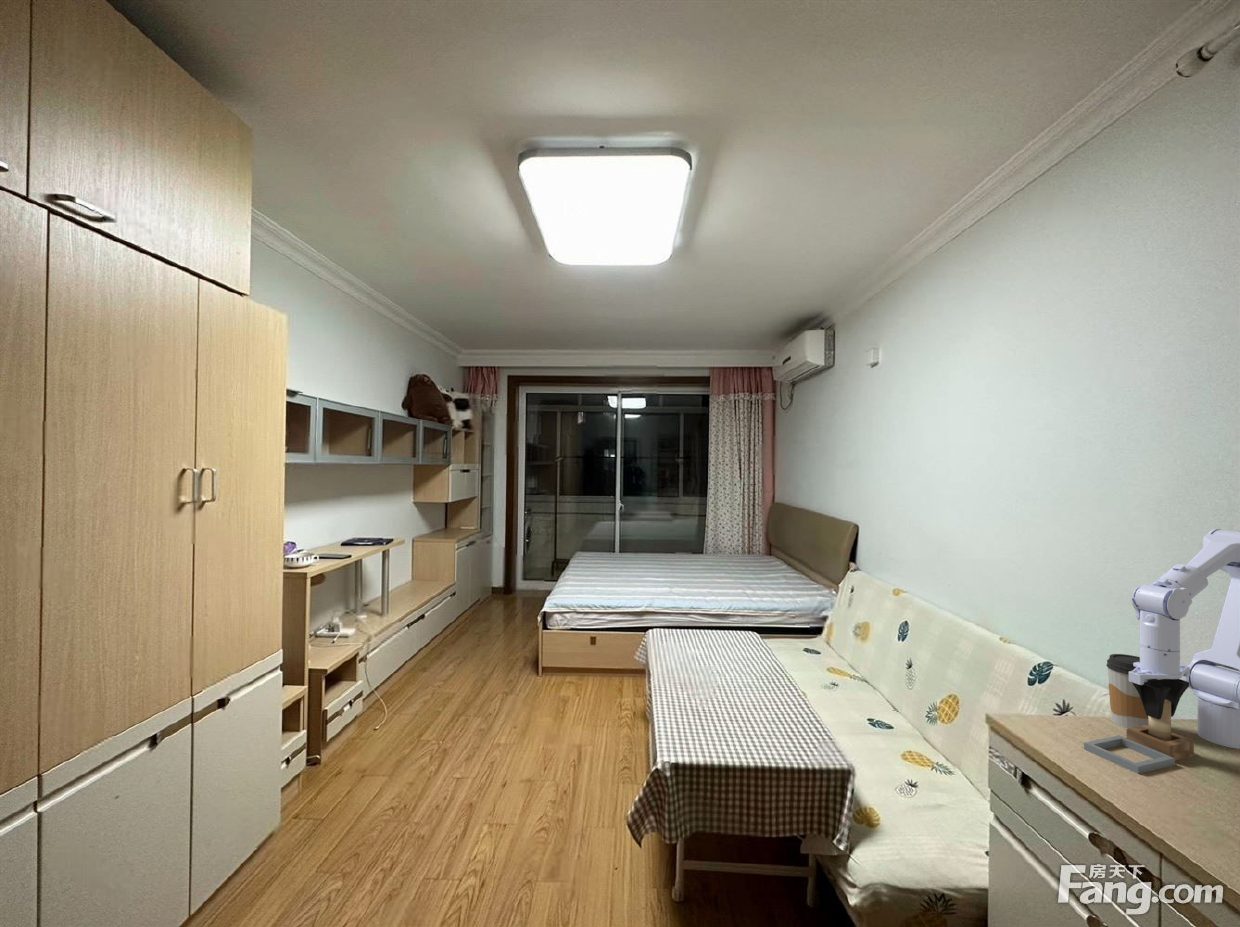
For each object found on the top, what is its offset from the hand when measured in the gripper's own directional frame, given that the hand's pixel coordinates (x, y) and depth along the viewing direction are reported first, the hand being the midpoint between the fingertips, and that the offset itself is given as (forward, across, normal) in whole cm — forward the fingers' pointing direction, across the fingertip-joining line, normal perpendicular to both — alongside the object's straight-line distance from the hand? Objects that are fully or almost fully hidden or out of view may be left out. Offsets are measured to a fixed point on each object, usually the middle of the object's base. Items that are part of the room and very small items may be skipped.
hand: (1159, 715), depth 109 cm
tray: (+8, +9, 0) cm, 12 cm away
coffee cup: (+8, -7, -9) cm, 14 cm away
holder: (+8, 0, 0) cm, 8 cm away
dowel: (+4, 0, 0) cm, 4 cm away
